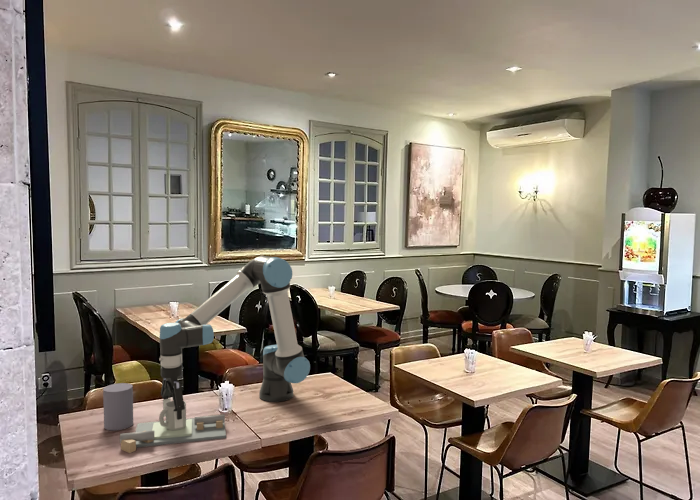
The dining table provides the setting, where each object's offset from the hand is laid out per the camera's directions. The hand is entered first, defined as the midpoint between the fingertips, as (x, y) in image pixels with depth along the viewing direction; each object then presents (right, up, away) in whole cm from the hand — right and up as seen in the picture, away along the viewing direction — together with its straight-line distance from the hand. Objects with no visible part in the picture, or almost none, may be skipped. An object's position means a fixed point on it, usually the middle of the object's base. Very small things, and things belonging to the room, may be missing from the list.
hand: (172, 421), depth 199 cm
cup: (0, -3, 0) cm, 3 cm away
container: (-23, -4, +6) cm, 24 cm away
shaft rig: (+1, -4, -2) cm, 5 cm away
